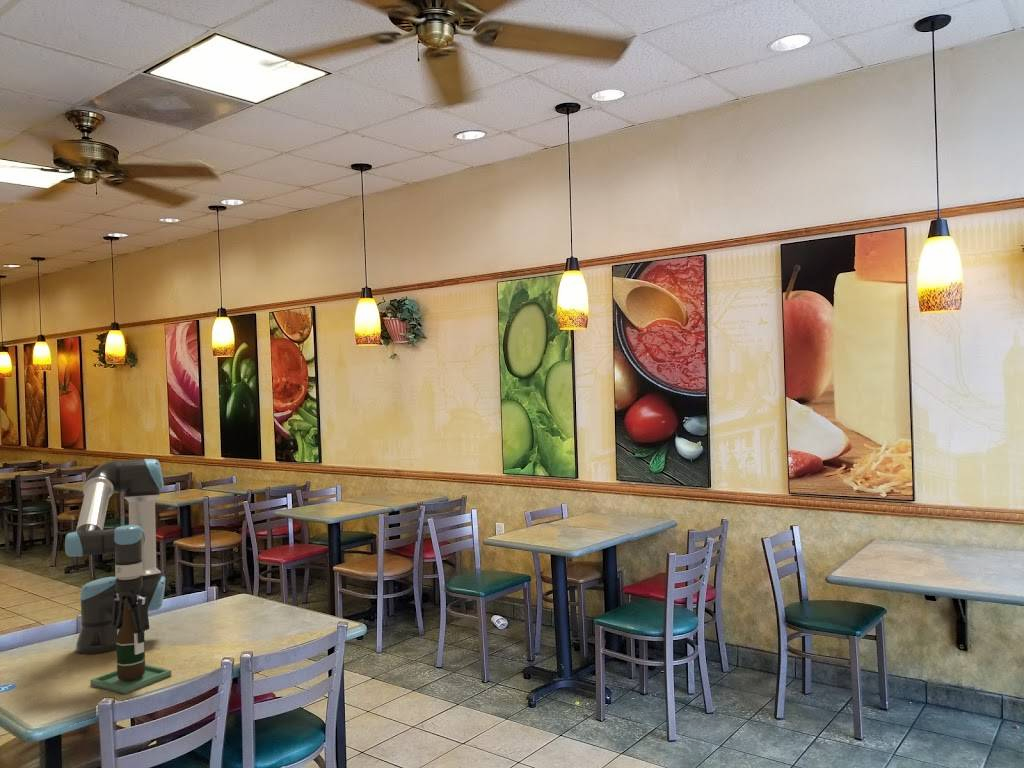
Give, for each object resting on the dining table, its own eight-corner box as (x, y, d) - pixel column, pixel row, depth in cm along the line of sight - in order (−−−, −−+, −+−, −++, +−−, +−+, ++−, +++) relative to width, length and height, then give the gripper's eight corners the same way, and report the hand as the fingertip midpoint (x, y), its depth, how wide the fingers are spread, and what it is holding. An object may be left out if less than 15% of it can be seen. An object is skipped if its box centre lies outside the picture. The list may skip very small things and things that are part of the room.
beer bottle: (134, 681, 234) (131, 601, 234) (111, 680, 235) (109, 601, 235) (151, 671, 241) (148, 594, 242) (129, 670, 243) (126, 594, 243)
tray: (90, 685, 235) (90, 679, 235) (138, 668, 249) (138, 662, 249) (124, 694, 228) (124, 688, 228) (171, 676, 242) (171, 670, 242)
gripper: (96, 576, 240) (98, 650, 240) (139, 582, 230) (141, 660, 230) (119, 570, 247) (121, 643, 247) (161, 577, 237) (163, 652, 237)
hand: (130, 651), depth 238 cm, fingers closed on beer bottle, 7 cm apart
